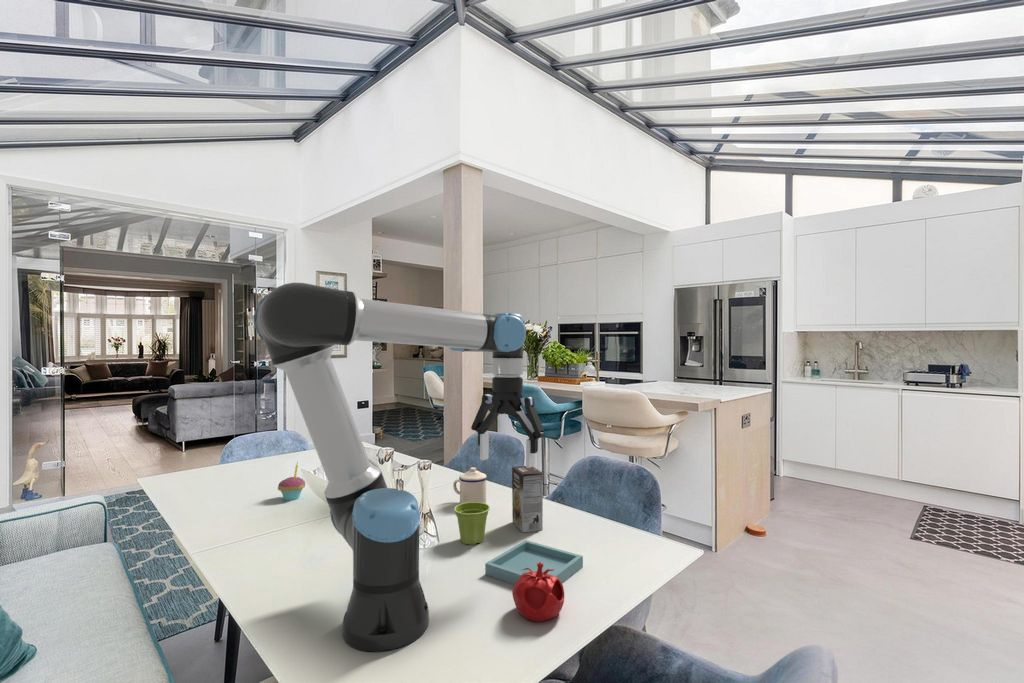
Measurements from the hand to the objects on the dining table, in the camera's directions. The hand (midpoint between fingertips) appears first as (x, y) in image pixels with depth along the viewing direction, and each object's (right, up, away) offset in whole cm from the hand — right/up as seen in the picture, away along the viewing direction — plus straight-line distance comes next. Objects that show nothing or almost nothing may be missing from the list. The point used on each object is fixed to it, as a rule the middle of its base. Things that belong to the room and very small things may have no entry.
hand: (506, 463), depth 117 cm
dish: (+7, -22, -8) cm, 25 cm away
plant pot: (-9, -23, +9) cm, 26 cm away
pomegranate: (+6, -22, -26) cm, 35 cm away
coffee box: (+6, -23, +19) cm, 31 cm away
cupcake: (-74, -24, +46) cm, 90 cm away
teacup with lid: (-13, -24, +40) cm, 48 cm away
